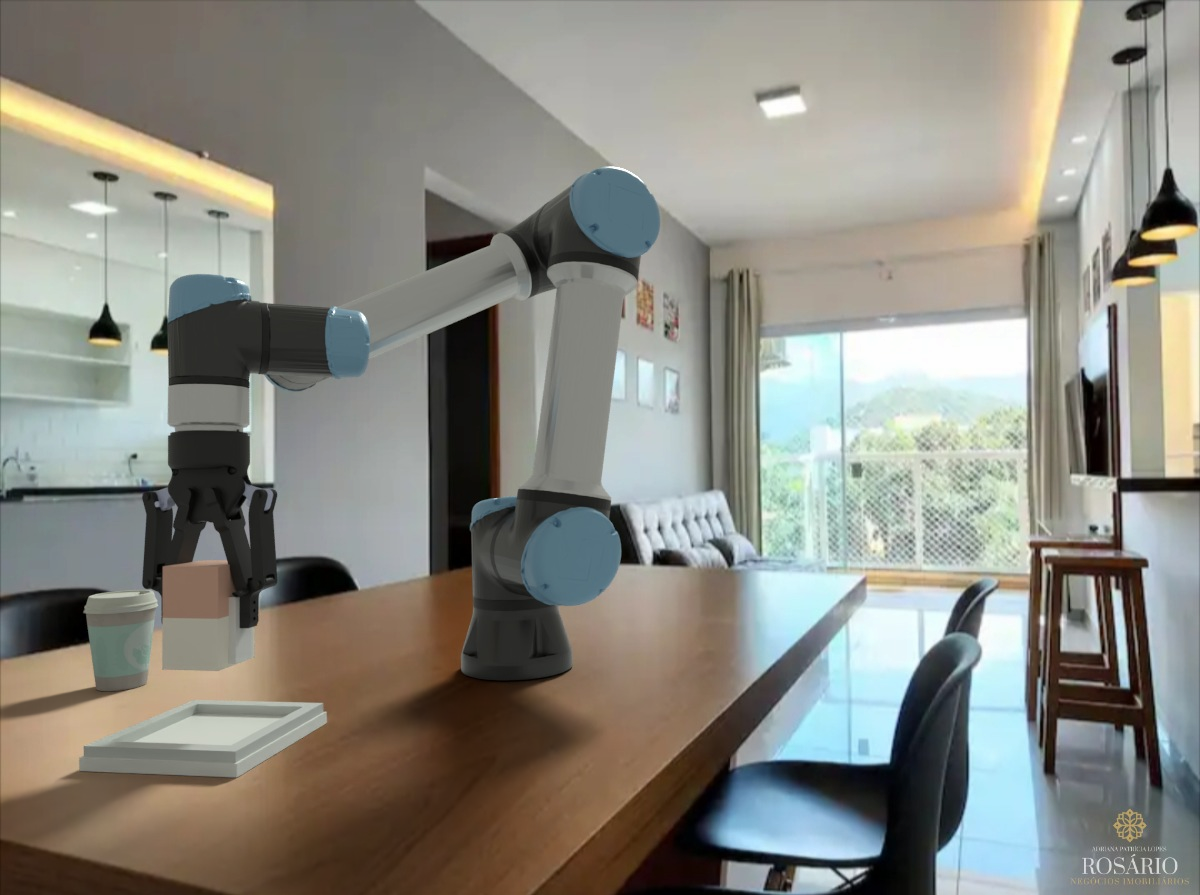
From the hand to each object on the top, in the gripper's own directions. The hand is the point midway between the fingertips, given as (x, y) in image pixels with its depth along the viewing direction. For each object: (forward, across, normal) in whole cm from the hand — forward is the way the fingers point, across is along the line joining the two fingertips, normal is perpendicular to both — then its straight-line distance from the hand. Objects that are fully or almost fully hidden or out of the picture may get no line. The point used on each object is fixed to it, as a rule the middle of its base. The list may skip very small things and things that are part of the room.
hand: (210, 659), depth 82 cm
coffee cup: (+9, +28, -21) cm, 36 cm away
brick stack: (0, 0, 0) cm, 0 cm away
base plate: (+8, 0, 0) cm, 8 cm away
